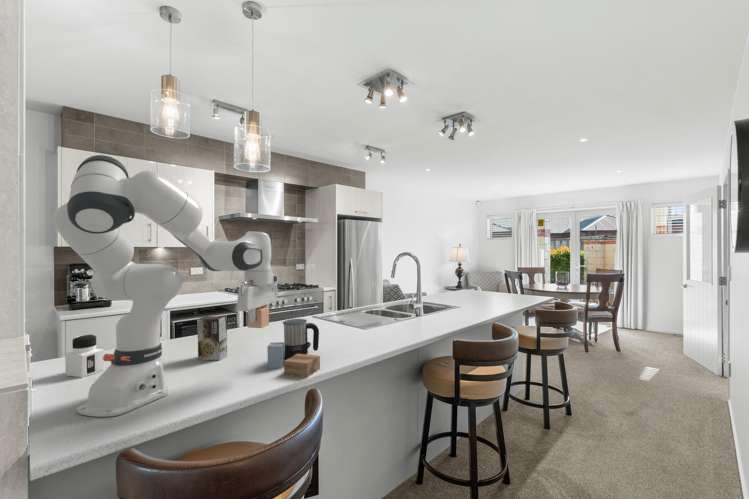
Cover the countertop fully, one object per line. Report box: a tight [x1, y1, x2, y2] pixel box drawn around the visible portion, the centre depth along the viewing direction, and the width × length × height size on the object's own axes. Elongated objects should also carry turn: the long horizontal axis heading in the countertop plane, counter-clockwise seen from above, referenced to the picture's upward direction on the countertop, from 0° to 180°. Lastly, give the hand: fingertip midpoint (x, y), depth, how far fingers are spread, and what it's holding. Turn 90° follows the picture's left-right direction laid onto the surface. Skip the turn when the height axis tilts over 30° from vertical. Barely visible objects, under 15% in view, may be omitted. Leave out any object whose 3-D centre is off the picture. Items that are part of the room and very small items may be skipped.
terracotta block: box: [247, 306, 270, 329], centre depth 125 cm, size 5×5×6 cm
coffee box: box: [196, 315, 228, 361], centre depth 145 cm, size 9×6×16 cm
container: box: [64, 334, 105, 378], centre depth 128 cm, size 8×8×13 cm
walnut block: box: [283, 354, 321, 378], centre depth 129 cm, size 9×9×5 cm
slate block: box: [267, 341, 285, 369], centre depth 135 cm, size 5×5×8 cm
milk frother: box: [282, 318, 320, 361], centre depth 148 cm, size 14×16×15 cm
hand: (258, 319), depth 125 cm, fingers closed on terracotta block, 5 cm apart
